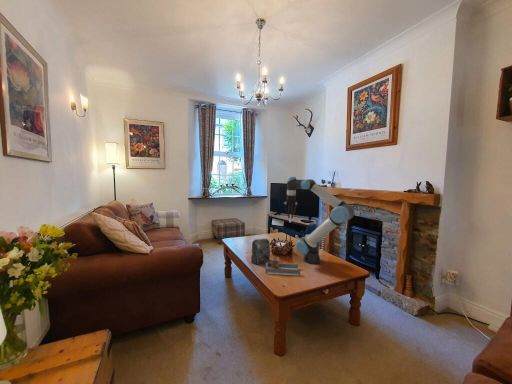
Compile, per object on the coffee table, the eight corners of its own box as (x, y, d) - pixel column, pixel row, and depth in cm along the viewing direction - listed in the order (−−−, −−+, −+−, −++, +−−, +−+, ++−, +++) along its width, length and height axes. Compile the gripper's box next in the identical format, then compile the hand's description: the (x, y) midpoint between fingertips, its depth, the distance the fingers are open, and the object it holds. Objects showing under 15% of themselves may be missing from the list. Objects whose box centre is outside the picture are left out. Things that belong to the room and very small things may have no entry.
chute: (297, 268, 182) (297, 263, 181) (299, 275, 169) (299, 270, 169) (265, 266, 184) (266, 261, 183) (265, 273, 171) (265, 268, 171)
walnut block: (278, 266, 181) (278, 257, 180) (278, 271, 173) (279, 261, 172) (271, 266, 181) (271, 256, 180) (271, 270, 173) (271, 260, 172)
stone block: (255, 265, 185) (255, 242, 183) (249, 262, 192) (249, 239, 191) (272, 261, 195) (273, 238, 193) (266, 257, 203) (267, 236, 201)
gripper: (298, 194, 196) (297, 221, 198) (283, 194, 197) (282, 220, 199) (299, 195, 188) (298, 223, 190) (283, 195, 189) (282, 222, 192)
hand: (290, 221), depth 195 cm, fingers closed
